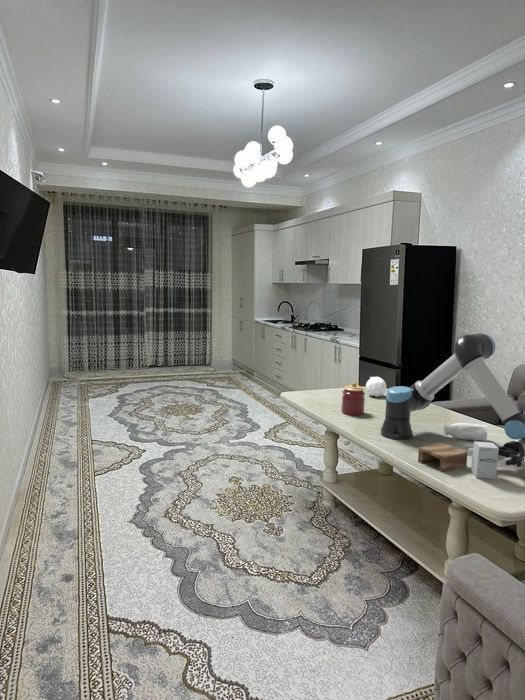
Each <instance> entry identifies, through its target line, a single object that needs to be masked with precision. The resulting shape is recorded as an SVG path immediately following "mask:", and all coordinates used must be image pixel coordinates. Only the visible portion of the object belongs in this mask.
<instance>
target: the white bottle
mask: <svg viewBox="0 0 525 700" xmlns="http://www.w3.org/2000/svg"><path fill="white" fill-rule="evenodd" d="M443 432H444V434H445V436H451V437H452V438H455V439H458V440H466V441H473V442H474V441H477V442H487V439H488V426H487V425H486V424H477V423H468V422H467V423H466V422H456V423H452V424H450V425H445V426H444V427H443Z"/></svg>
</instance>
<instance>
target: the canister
mask: <svg viewBox="0 0 525 700" xmlns="http://www.w3.org/2000/svg"><path fill="white" fill-rule="evenodd" d="M343 389H344V390H343V391H342V396H341V413H342V412H343V413H342V414H344V413H346V414H345V415H348V414H350V415H349V416H361V415H364V412H365V400H366V398H365V395H366V392H365V389H364V387H362V386H361V385H358V384H357V383H356V382H352V384H347V385H345V386H344V387H343Z"/></svg>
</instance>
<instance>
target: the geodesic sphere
mask: <svg viewBox="0 0 525 700" xmlns="http://www.w3.org/2000/svg"><path fill="white" fill-rule="evenodd" d="M365 389H366V390H365V391H366V392H367V394H368V395H370V396H372V397H373V396H375V397H374V398H379V396H380V397H382V396H383V395H384V394H385V392H387V383H386V381H385V380H384V379H383V378H381V377H379V376H377V375H375V376H369V379H368V380H367V381H366V383H365Z"/></svg>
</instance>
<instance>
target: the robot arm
mask: <svg viewBox="0 0 525 700" xmlns="http://www.w3.org/2000/svg"><path fill="white" fill-rule="evenodd" d="M495 351H496V343H495V341H494V339H493V337H492V336H490V335H489V334H487V333H483V332H482V333H481V332H480V333H473V334H463V335H462V336H460V337H458V338H457V339H456V340H455V343H454V346H453V352H454V353H453V355H451V356H449V358H448V359H446V360H445V361H444V362H443V363H442V364H440V365H439V366H438V367H437V368H436V369H434V370H433V371H432V372H431V373H430V374H428V375H427V376H426V377H425V378H424V379H422V380H417V381H416V382H414V383H413V384H412V385H411V386H409V387H408V386H403V385H399V386H391V387H390V388H388V389H387V390H386V392H387V393H386V397H385V398H386V399H385V400H386V401H385V416H384V417H385V418H384V420H383V423H382V427H380V435H381V436H383V437H385V438H388V439H393V440H409V439H412V438H413V433H414V432H413V430H412V425H411V412H416V411H422V410H425V409H426V408H428V406H430V405H431V403H432V401H433V400H434V399H435V394H437V393H438V392H439V391H440V390H442V389H443V388H444V387H445V386H447V384H449V383H451V382H452V381H453V380H454V379H455V378H457V376H459V375H461V373H463V372H464V371H467V372H468V374H469V375H470V376H471V378H472V379H473V381H474V383H476V385H477V387H478V389H480V392H481V393H482V394H483V395H484V397H485V399H486V400H487V401H488V403H489V404H490V405H491V407H492V408H493V410H494V411H495V412H496V414H497V415H498V417H499V419H500V420H501V421H502V422H503V424H504V427H503V429H504V433H505V435H506V437H508V438H509V439H512V440H511V441H506V442H505V443H504V444H503V445H499V446H498V445H497V444H496V443H494V444H495V445H496V446H497V447H498V448H499V451H498V457H504V458H502V459H499V460H498V465H497V468H500V469H501V468H504V467H508V466H516V467H518V468H519V467H520V468H521V465H522V463H523V461H525V409H523V412H522V414H521V412H520V411H519V409H518V408H517V406H516V405H515V404H514V402H513V400H512V399H511V398H510V396H509V395H508V393H507V392H506V391H505V389H504V388H503V387H502V385H501V383H500V382H499V381H498V379H497V378H496V376H495V375H494V374H493V372H492V371H491V369H490V368H489V367H488V365H487V363H486V362H485V361H484V360H486V359H489V358H492V356H493V355H494V354H495ZM473 447H474V444H473V446H472V447H470V448H467V451H466V452H467V457H471V456H473Z"/></svg>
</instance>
